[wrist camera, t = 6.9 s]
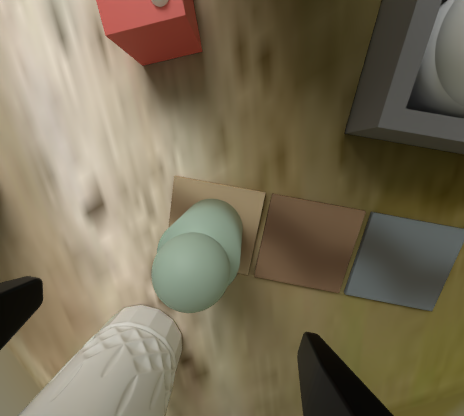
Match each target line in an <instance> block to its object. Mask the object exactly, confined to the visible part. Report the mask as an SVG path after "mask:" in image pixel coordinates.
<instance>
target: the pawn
mask: <svg viewBox="0 0 464 416" xmlns="http://www.w3.org/2000/svg"><path fill="white" fill-rule="evenodd" d="M242 231H243V226H242V221H241V218H240V215H239V214H238V212H237V211H236V210H235V208H234V207H233V206H231V205H230V204H229V203H227V202H225V201H222V200H219V199H204V200H201V201H199V202H197V203H195V204H194V205H193V206H191V207H190V208H189V209H188V210H187V211H186V212H185V213H184V214H183V215H182V216H181V217H180V218H179V219H178V220H177V221H175V222H174V223H173V224H172V225H171V226H170V227H169V228H168V229H167V230H166V231H165V232H164V234H163V235H162V237H161V239H160V241H159V244H158V249H157V255H156V257H155V259H154V262H153V266H152V275H151V276H152V283H153V287H154V290H155V292H156V294H157V296H158V297H159V298H160V300H161V301H162V302H163V303H164V304H165V305H167V306H168V307H170V308H172V309H173V310H176V311H179V312H184V313H195V312H200V311H203V310H205V309H207V308H209V307H211V306H212V305H214V304H215V303H216V302H217V301H218V300H219V299H220V298H221V297H222V295H223V294H224V292H225V290H226V288H227V286H228V285H229V284H230V283H231V282H232V281H233V280H234V278H235V277H236V275H237V272H238V269H239V265H240V255H241V243H242Z"/></svg>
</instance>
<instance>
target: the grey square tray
mask: <svg viewBox="0 0 464 416" xmlns="http://www.w3.org/2000/svg"><path fill="white" fill-rule="evenodd" d="M446 1H447V0H382V2H381V5H380V9H379V12H378V16H377V20H376V23H375V27H374V30H373V34H372V37H371V41H370V44H369V48H368V52H367V55H366V59H365V62H364V66H363V69H362V73H361V76H360V80H359V84H358V87H357V91H356V94H355V98H354V101H353V105H352V108H351V112H350V115H349V119H348V123H347V126H346V130H345V134H350V135H356V136H362V137H368V138H373V139H379V140H385V141H390V142H396V143H402V144H408V145H413V146H419V147H425V148H430V149H436V150H442V151H448V152H453V153H459V154H464V117H462V118H458V117H452V116H446V115H440V114H434V113H428V112H422V111H417V110H411V109H408V108H407V107H406V106H407V103H408V100H409V98H410V95H411V92H412V89H413V86H414V83H415V80H416V77H417V74H418V71H419V68H420V65H421V62H422V59H423V56H424V53H425V50H426V47H427V44H428V41H429V38H430V35H431V32H432V29H433V26H434V23H435V20H436V17H437V14H438V11H439V8H440V6H441V5H442V4H443V3H445V2H446Z"/></svg>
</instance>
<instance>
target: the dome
mask: <svg viewBox="0 0 464 416" xmlns="http://www.w3.org/2000/svg"><path fill="white" fill-rule="evenodd" d="M406 107H407V108H408V109H411V110H417V111H422V112H428V113H434V114H440V115H446V116H452V117H458V118H462V117H464V0H447V1H446V2H445V3H443V4H442V5H441V6H440V8H439V11H438V14H437V17H436V20H435V23H434V26H433V29H432V32H431V35H430V38H429V41H428V44H427V47H426V50H425V53H424V56H423V59H422V62H421V65H420V68H419V71H418V74H417V77H416V80H415V83H414V86H413V89H412V92H411V95H410V98H409V100H408V103H407V106H406Z"/></svg>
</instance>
